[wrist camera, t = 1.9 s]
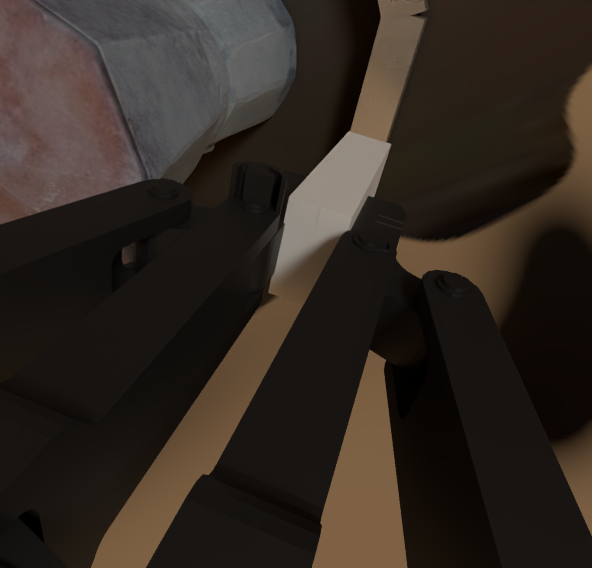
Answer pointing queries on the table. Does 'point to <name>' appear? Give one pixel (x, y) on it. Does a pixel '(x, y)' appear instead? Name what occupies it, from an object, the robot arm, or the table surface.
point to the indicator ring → (389, 67)
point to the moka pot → (129, 91)
